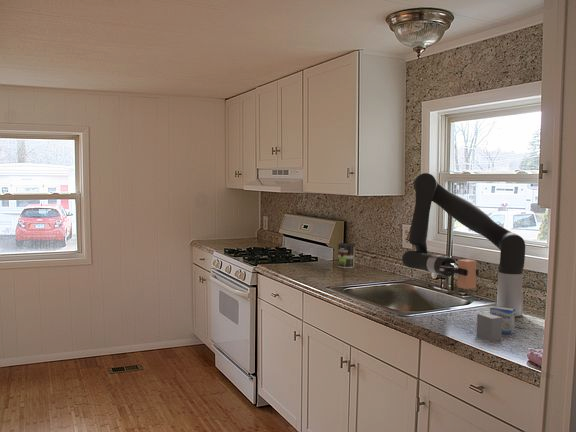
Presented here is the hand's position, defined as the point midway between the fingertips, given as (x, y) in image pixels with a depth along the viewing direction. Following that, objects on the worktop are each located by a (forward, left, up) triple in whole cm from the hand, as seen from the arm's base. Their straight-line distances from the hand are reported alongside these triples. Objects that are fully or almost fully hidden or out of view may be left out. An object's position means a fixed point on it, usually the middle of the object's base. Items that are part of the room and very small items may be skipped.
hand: (472, 272), depth 199 cm
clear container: (-29, -139, -22) cm, 143 cm away
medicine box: (-10, +5, -22) cm, 24 cm away
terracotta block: (0, -3, -6) cm, 7 cm away
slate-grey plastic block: (+1, +10, -21) cm, 24 cm away
